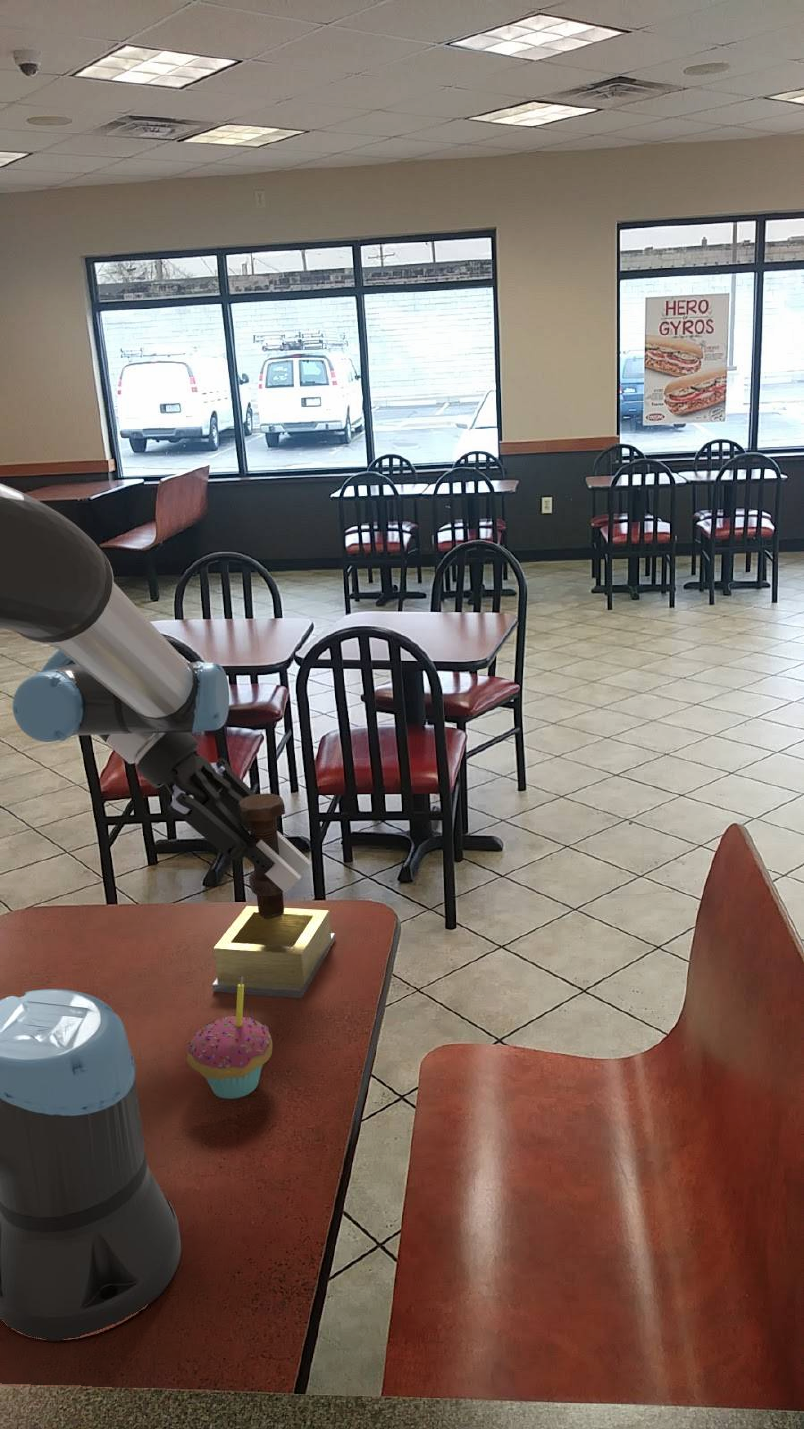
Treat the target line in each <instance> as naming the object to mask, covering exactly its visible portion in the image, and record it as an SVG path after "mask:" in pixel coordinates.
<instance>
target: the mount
mask: <svg viewBox="0 0 804 1429" xmlns="http://www.w3.org/2000/svg"><path fill="white" fill-rule="evenodd" d="M330 920H331V919H330V910H325V909H324V910H323V909H308V908H305V909H304V908H290V907H284V914H283V915H282V916H280V917H276V918H272V919H268V920H267V919H264V918H263V917H261V916H260V915H259V914H258V905H256V906H253V905H246V906H245V908H244V909H243V910H242V911H241V913H240V914H239V915H238V917H237V918H236V920H234V922H232V924H231V925H230V926H229V928H228V929H227V931H226V932H225V933H224V934H223V935H222V937H221V938H220V939H219V941H217V944H215V946H214V947H213V954H214V961H215V962H214V963H215V969H216V970H215V971H216V977H217V978H216V979H215V980H214V982H213V983H212V992H213V993H225V994H235V995H237V988H238V984H240V983H241V978H242V977H243V983H242V984H243V985H244V995H250V996H262V997H263V996H265V997H277V998H286V999H287V998H288V999H299V1000H300V999H302V997H303V996H304V995H305V992H306V991H307V989H308V987H309V985H310V984H311V982H312V981H313V979H314V978H315V976H316V973H317V972H318V971H317V970H319V969H320V967H321V965H322V964H321V963H323V962H324V960H325V959H324V957H325V955H326V953H327V951H328V949H329V947H330V945H331V944H332V942H333V940H334V938H335V939H336V934H335V933H334V932H331V930H332V929H331V921H330ZM326 956H327V955H326ZM325 958H326V957H325ZM323 959H324V960H323ZM322 961H323V962H322ZM320 964H321V965H320ZM318 968H319V969H318Z"/></svg>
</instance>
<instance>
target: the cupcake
mask: <svg viewBox="0 0 804 1429" xmlns="http://www.w3.org/2000/svg"><path fill="white" fill-rule="evenodd" d="M242 983H243V977H242V978H241V983H240V984H238V988H237V994H236V1007H235V1008H236V1009H235V1011H236V1012H235V1015H227V1016H225V1017H222V1018H218V1019H217V1020H213V1021H211V1022H209V1023H206V1024H205V1025H204V1026H203V1027H201V1029H199V1030H197V1031H195V1033H194V1035H193V1038H192V1039H191V1041H190V1042H188V1052H187V1063H188V1065H190V1067H191V1068H192V1069H193V1070H194V1071H196V1072H197V1073H200V1074H201V1077H203V1078H206V1081H207V1083H208V1084H209V1087H210V1088H211V1091H212V1092H213V1093H214V1094H215V1096H217V1097H218V1098H222V1099H225V1100H227V1099H228V1100H229V1099H230V1100H232V1099H233V1100H234V1099H240V1098H244V1097H245V1096H247V1095H249V1094H251V1093H252V1092H253V1091H255V1089H256V1088H257V1087H258V1084H259V1081H260V1077H261V1073H262V1072H261V1071H262V1068H263V1065H264V1064H265V1063H267V1062H268V1061H269V1059H270V1058H271V1056H272V1053H273V1039H272V1035H271V1032H270V1030H269V1027H268V1026H266V1024H263V1023H261V1022H260V1021H259V1020H256V1019H255V1018H251V1017H246V1016H245V1015H243V1014H244V1013H243V1012H244V998H245V994H244V985H243V984H242Z"/></svg>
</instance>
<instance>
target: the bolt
mask: <svg viewBox="0 0 804 1429" xmlns="http://www.w3.org/2000/svg"><path fill="white" fill-rule="evenodd" d="M255 794H256V793H255ZM285 806H286V805H285V803H284V800H283V798H282V796H280V795H278V794H275V793H270V792H269V793H268V792H267V793H258V794H256V795H251V796H247V797H245V798H244V799H242V800H241V801H240V802H239V803H238V807H239V813H240V815H241V817H242V819H243V821H248V822H249V828H250V831H249V833H250V835H251V836H252V837H253V838H254V839H255V840H256V844H257V843H258V842H259V841H260V840H262V841H263V842H265V843H266V844H267V845H268V846H269V847H270V848H271V849H272V850H273V851H274V852H275V853H276V854H277V855H279V847H278V837H277V836H278V835H277V831H278V817H280V816H283V815H285V814H286V810H285V808H286V807H285ZM253 869H254V870H253V871H252V873H250V875H248V880H249V887H250V891H251V893H252V894H254V895H256V899H257V900H256V901H257V903H256V904H257V907H258V914H259V915H260V916H261V917H263V918H264V919H267V920H268V919H272V918H276V917H280V916H282V915H283V914H284V908H285V903H284V891H283V890H282V889H280V888H279V887H278V886H277V885H276V884H275V883H274V882H273V881H272V880H271V879H270V878H269V877H267V876H266V875H265V874H264V873H263V872H261V871H260V870H259V869H258V868H257V867H256V866H255V865H254V864H253Z"/></svg>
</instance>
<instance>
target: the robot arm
mask: <svg viewBox="0 0 804 1429" xmlns="http://www.w3.org/2000/svg"><path fill="white" fill-rule="evenodd" d="M0 629H5V630H11V631H15V632H16V633H17V634H18V635H20V636H22V637H23V638H25V639H26V640H29V641H32V642H35V643H39V644H43V645H45V644H47V645H53V646H54V647H55V648H56V649H57V651H56V652H55V653H54V654H53V655H52V656H51V657H50V658H49V659H48V660H47V662H46V663H45V664H44V666H43V667H42V669H41V670H40V672H36V673H35V674H34V675H32V676H29V677H27V678H26V679H25V680H24V681H22V682H21V683H20V684H19V686H18V687H17V689H16V691H15V693H14V695H13V699H12V712H13V716H14V719H15V721H16V724H17V725H18V727H19V728H20V730H21V731H22V732H23V733H24V734H25V735H26V736H28V737H30V738H31V739H33V740H36V741H38V742H42V743H54V742H58V741H66V740H67V739H69V738H71V737H73V736H98V737H99V738H100V739H102V741H103V742H104V743H107V744H108V745H109V746H110V747H111V748H112V749H113V750H114V751H115V753H116V754H118V755H119V756H120V757H122V758H123V759H124V761H125V762H127V764H129V765H131V764H136V766H135V769H136V770H135V771H136V772H137V773H138V774H139V775H140V776H141V777H142V778H143V779H145V780H146V781H147V782H148V783H149V784H150V785H151V786H152V787H153V788H157V789H158V788H160V787H162V786H163V785H164V786H165V787H166V789H167V790H168V792H169V794H170V795H171V796H173V798H172V801H171V803H170V804H169V805H168V806H167V810H168V812H169V813H170V814H172V815H174V816H175V817H177V818H180V819H181V820H183V821H184V822H186V823H187V824H188V825H189V826H190V827H192V828H193V829H194V830H195V831H196V832H198V834H200V835H201V836H202V837H203V838H204V839H205V840H207V841H208V842H209V843H210V844H212V845H213V846H214V847H215V849H217V850H218V851H220V852H221V853H222V854H223V855H225V857H227V858H228V859H229V860H231V861H234V860H235V861H236V862H241V860H242V859H243V858H246V859H247V860H248V861H249V862H250V863H251V864H252V865H253V866H254V865H255V866H256V867H257V868H258V869H259V870H260V871H261V872H263V873H264V874H265V875H266V876H267V877H269V878H270V879H271V880H272V881H273V882H274V883H275V884H276V885H277V886H278V887H279V888H280V889H282V890H283V893H285V894H286V893H288V891H289V890H291V888H292V887H294V885H295V884H296V883H297V882H298V881H299V880H300V879H301V877H302V876H301V874H303V872H304V871H306V870H307V869H308V868H309V866H310V865H311V864H312V861H311V860H310V859H308V858H307V857H306V856H305V855H304V854H303V853H302V851H300V850H299V849H298V848H297V847H296V846H294V845H293V844H292V843H291V842H290V841H289V840H288V838H286V837H285V836H284V835H283V834H282V833H281V832H280V831H278V830H277V835H278V836H277V837H278V847H279V855H277V854H276V853H275V852H274V851H273V850H272V849H271V848H270V847H269V846H268V845H267V844H266V843H265V842H263V841H262V840H260V841H259V842H258V843H257V844H256V840H255V839H254V838H253V837H252V836H251V833H250V828H249V822H248V821H243V819H242V817H241V815H240V813H239V807H238V803H239V802H240V801H241V800H242V799H244V798H245V797H247V796H251V795H256V793H255V791H253V789H251V788H250V787H249V785H247V784H246V783H245V782H244V781H243V780H242V779H241V778H240V777H239V775H237V774H236V773H235V772H234V771H233V769H232V767H231V766H230V765H229V763H228V762H227V760H226V759H224V758H223V757H219V758H218V760H216V762H210V761H209V760H208V759H207V758H205V757H203V756H201V755H200V754H198V753H197V750H198V748H199V746H200V743H199V741H198V740H197V739H196V738H195V736H193V735H192V734H195V733H196V732H207V731H216V730H219V729H221V728H222V727H223V726H224V725H225V724H226V722H227V719H228V715H229V709H230V689H229V688H230V687H229V680H228V677H227V674H226V671H225V668H223V667H222V665H221V664H219V663H218V662H217V663H216V662H202V661H200V660H199V661H196V660H195V662H188V661H187V660H186V659H185V658H184V657H183V656H182V655H181V653H179V651H178V650H177V649H176V648H175V647H174V646H173V645H172V644H171V643H170V642H169V641H168V640H167V638H166V637H165V636H164V635H163V634H162V633H161V632H160V631H159V630H158V628H156V627H155V625H153V623H151V621H150V620H149V619H148V618H147V616H145V615H144V613H143V612H142V611H141V610H140V609H139V608H138V607H137V606H136V605H135V604H134V603H133V601H132V600H130V598H129V597H128V596H127V595H126V594H125V592H123V590H122V589H121V588H120V587H119V586H118V585H117V584H116V582H114V572H113V568H112V566H111V562H110V561H109V559H108V557H107V556H106V555H105V552H103V550H102V549H101V548H100V547H99V546H98V545H97V543H95V541H94V540H93V539H92V538H91V537H90V536H89V535H88V534H87V533H86V532H85V531H83V530H82V529H81V528H80V527H79V526H78V525H76V524H75V523H74V522H72V520H70V519H68V518H67V517H66V516H64V515H63V514H61V513H60V512H58V511H57V510H54V509H53V508H51V507H50V506H48V505H47V504H45V503H43V502H41V501H39V499H35V498H34V497H32V496H30V495H28V494H26V493H24V492H22V491H20V490H17V489H16V488H14V487H10V486H9V485H5V484H3V483H0ZM23 994H24V995H23V996H15V995H10V996H7V997H4V998H2V999H0V1318H1V1319H2V1320H3V1321H4V1322H5V1323H6V1324H7V1325H8V1326H10V1327H11V1328H13V1329H15V1330H16V1331H19V1332H21V1333H23V1334H25V1335H27V1336H31V1337H33V1338H34V1337H35V1338H36V1337H37V1338H42V1339H46V1340H58V1341H57V1342H60V1341H59V1340H63V1339H68V1338H76V1337H80V1336H82V1335H85V1334H89V1333H91V1332H94V1331H97V1330H100V1329H103V1328H105V1327H107V1326H110V1325H112V1324H116V1323H117V1322H119V1321H122V1320H124V1319H125V1318H126V1317H128V1316H130V1315H131V1314H132V1315H133V1314H134V1313H136V1312H138V1311H139V1310H141V1309H142V1308H143V1307H145V1306H146V1305H147V1304H149V1303H151V1302H152V1301H153V1300H154V1301H155V1300H156V1299H158V1298H159V1296H160V1295H161V1294H162V1293H163V1292H164V1291H165V1290H166V1288H167V1286H168V1285H169V1284H170V1283H171V1281H172V1279H173V1278H174V1275H175V1273H176V1271H177V1268H178V1267H179V1263H180V1259H181V1254H182V1242H181V1235H180V1234H181V1233H180V1228H179V1227H180V1226H179V1221H178V1218H177V1217H178V1216H177V1214H176V1212H175V1209H174V1207H173V1205H172V1203H171V1202H170V1201H169V1199H168V1198H167V1196H166V1195H165V1194H164V1193H163V1191H162V1189H161V1187H160V1185H159V1183H158V1182H157V1180H156V1178H155V1176H154V1175H153V1173H152V1171H151V1170H150V1168H149V1165H148V1160H147V1156H146V1147H145V1139H144V1134H143V1126H142V1120H141V1118H142V1117H141V1111H140V1106H139V1099H138V1089H137V1084H136V1065H135V1060H134V1055H133V1053H132V1051H131V1048H130V1045H129V1041H128V1036H127V1033H126V1029H125V1025H124V1023H123V1021H122V1020H121V1018H120V1016H119V1015H118V1014H117V1013H115V1012H114V1009H113V1008H112V1007H111V1006H110V1005H109V1004H107V1003H106V1002H104V1001H102V1000H101V999H99V998H97V997H95V996H93V995H90V994H88V993H85V992H81V991H76V990H71V989H70V990H69V989H62V988H61V989H60V988H59V989H58V988H44V989H43V988H42V989H36V990H34V989H33V990H29V991H24V993H23ZM155 1298H156V1299H155ZM154 1301H153V1302H154ZM153 1302H152V1303H153ZM152 1303H151V1304H152ZM1 1319H0V1320H1ZM2 1320H1V1321H2ZM8 1326H7V1327H8Z"/></svg>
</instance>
